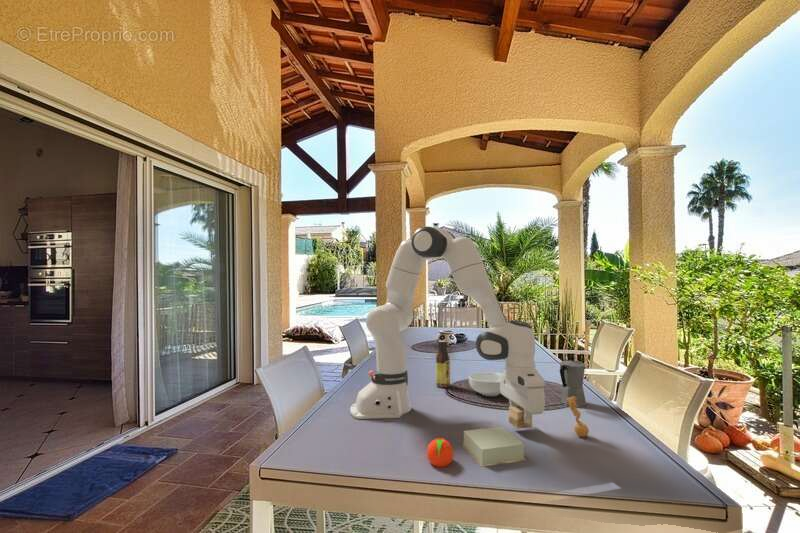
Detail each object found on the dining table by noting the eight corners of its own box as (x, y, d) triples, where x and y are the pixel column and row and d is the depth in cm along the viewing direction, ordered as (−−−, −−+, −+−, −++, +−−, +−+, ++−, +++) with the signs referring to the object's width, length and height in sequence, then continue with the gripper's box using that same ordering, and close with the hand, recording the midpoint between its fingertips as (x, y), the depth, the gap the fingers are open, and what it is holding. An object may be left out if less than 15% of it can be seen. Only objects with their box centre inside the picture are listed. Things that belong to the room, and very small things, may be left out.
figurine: (587, 443, 113) (587, 402, 114) (565, 439, 116) (564, 399, 117) (589, 432, 121) (588, 394, 121) (568, 429, 124) (567, 391, 124)
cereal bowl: (515, 391, 163) (515, 374, 163) (503, 402, 149) (503, 384, 149) (477, 385, 172) (477, 369, 172) (462, 395, 158) (462, 378, 158)
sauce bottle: (449, 388, 168) (448, 342, 168) (435, 387, 169) (434, 342, 169) (450, 384, 174) (450, 340, 175) (436, 383, 176) (436, 339, 176)
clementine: (453, 476, 96) (452, 447, 96) (425, 474, 97) (424, 445, 97) (454, 460, 104) (453, 434, 104) (428, 459, 105) (427, 432, 105)
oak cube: (517, 428, 117) (517, 412, 117) (508, 422, 122) (508, 406, 122) (532, 427, 118) (532, 410, 118) (523, 420, 123) (523, 405, 123)
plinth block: (482, 465, 99) (482, 449, 99) (463, 445, 111) (463, 430, 111) (524, 459, 102) (523, 444, 102) (501, 440, 114) (501, 426, 114)
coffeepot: (569, 396, 155) (568, 351, 156) (593, 402, 148) (592, 355, 148) (549, 405, 146) (548, 357, 146) (574, 412, 138) (573, 361, 139)
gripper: (495, 366, 129) (495, 407, 129) (529, 383, 109) (529, 432, 109) (512, 364, 131) (512, 405, 131) (548, 382, 111) (549, 430, 111)
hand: (520, 418), depth 120 cm, fingers closed on oak cube, 5 cm apart
